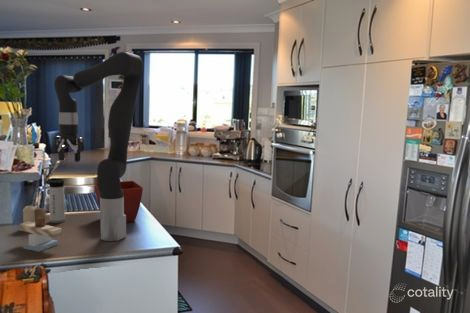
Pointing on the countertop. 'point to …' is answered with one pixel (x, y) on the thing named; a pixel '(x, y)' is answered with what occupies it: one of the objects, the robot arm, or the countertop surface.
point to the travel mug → (56, 200)
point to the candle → (29, 214)
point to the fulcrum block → (39, 242)
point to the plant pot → (128, 198)
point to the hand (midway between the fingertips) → (69, 160)
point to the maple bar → (40, 225)
